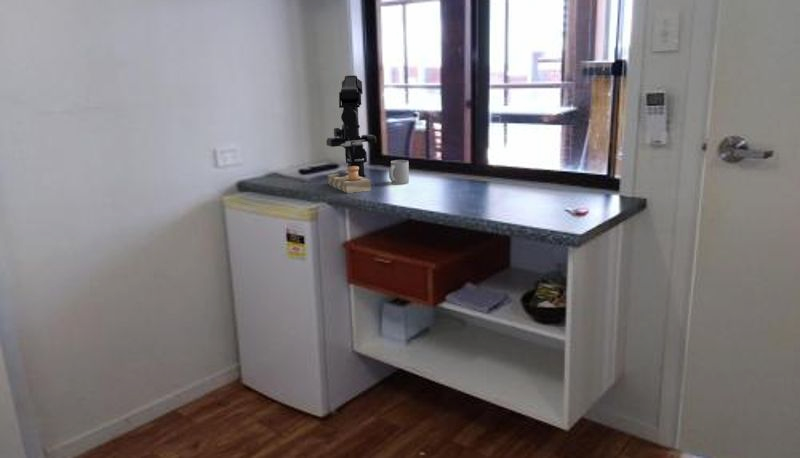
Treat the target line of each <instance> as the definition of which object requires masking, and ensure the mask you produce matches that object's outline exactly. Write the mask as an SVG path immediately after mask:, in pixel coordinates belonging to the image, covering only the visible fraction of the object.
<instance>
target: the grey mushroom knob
mask: <svg viewBox="0 0 800 458" xmlns="http://www.w3.org/2000/svg"><path fill="white" fill-rule="evenodd" d="M337 174H339V177H348V170H347V169H341V170H338V171H337Z"/></svg>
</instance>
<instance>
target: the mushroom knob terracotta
mask: <svg viewBox="0 0 800 458" xmlns="http://www.w3.org/2000/svg"><path fill="white" fill-rule="evenodd" d="M346 170H348V176H349V181H358V170H359V167H358V166H349V167H347V166H346Z"/></svg>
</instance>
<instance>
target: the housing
mask: <svg viewBox="0 0 800 458" xmlns="http://www.w3.org/2000/svg"><path fill="white" fill-rule="evenodd" d="M371 181H372V180H371V179H368V178H365V177H361V176H358V181H349V176H348V177H339V174H338V173H337V174H335V173H334V174H327V184H329V185H328V186H330V185H331V186H330V187H332V186H333V187H332V188H334V187H335V188H334V189H336V188H337V190H338V189H339V191H341V190H342V191H341V192H343V191H344V192H343V193H345V192H346V193H345V194H347V193H348V194H354V192H356V193H361V192H362V191H363V192H369V191H371V190H372V189H371V188H372V186H371V185H372V184H371Z"/></svg>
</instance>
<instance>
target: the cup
mask: <svg viewBox="0 0 800 458" xmlns="http://www.w3.org/2000/svg"><path fill="white" fill-rule="evenodd" d="M409 169H410V165H409V160H407V159H406V160H405V159H395V160H391V161H390V167H389V170H388V177H389V180H390V181H391V183H392V185H398V186H399V185H400V186H401V185H403V186H404V185H407V184H409V181H410V170H409Z"/></svg>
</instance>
